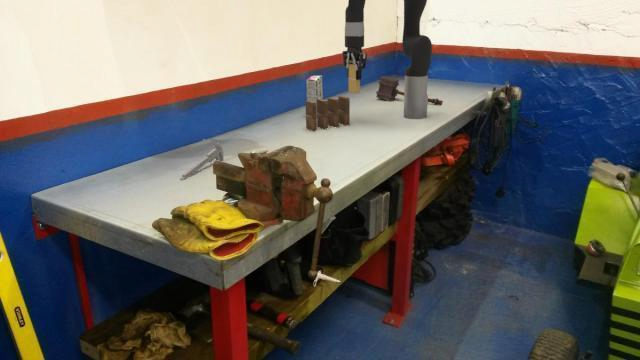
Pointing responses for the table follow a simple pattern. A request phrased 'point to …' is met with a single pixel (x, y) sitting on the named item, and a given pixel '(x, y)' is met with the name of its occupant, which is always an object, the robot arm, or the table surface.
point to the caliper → (205, 160)
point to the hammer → (394, 90)
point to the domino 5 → (353, 80)
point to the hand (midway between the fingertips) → (354, 78)
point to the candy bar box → (314, 88)
